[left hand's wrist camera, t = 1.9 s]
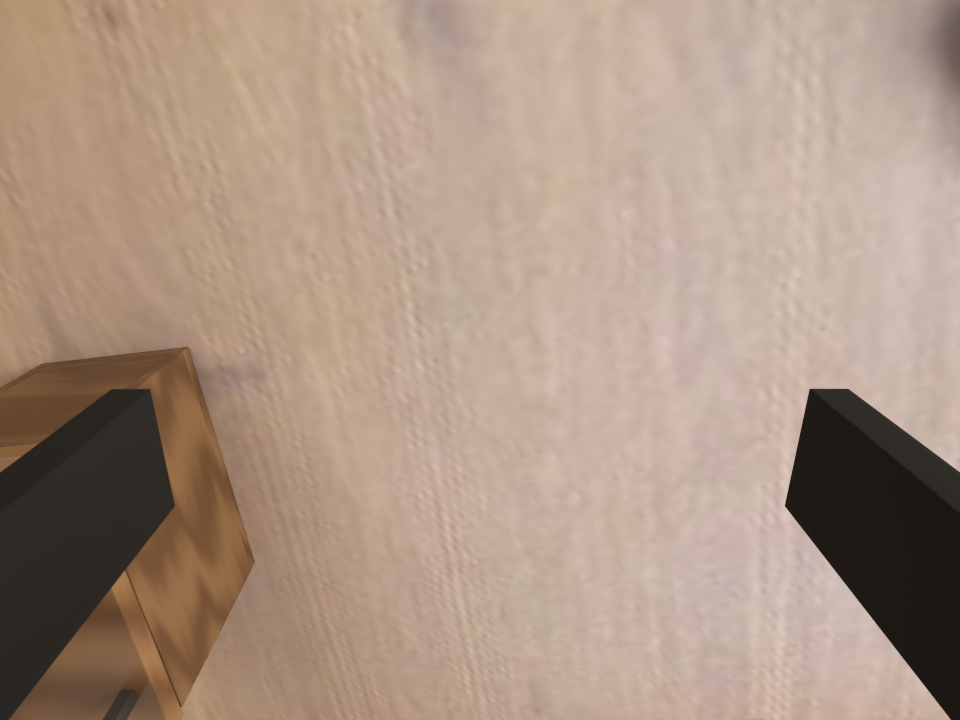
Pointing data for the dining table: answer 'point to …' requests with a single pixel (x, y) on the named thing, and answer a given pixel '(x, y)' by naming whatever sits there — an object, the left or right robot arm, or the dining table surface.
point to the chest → (195, 487)
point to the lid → (103, 662)
